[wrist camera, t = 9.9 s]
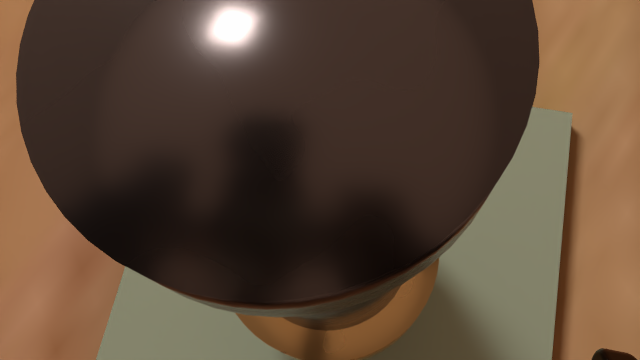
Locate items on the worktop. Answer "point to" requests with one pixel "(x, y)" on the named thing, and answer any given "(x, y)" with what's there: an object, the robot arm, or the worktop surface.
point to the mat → (445, 299)
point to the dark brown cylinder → (279, 147)
